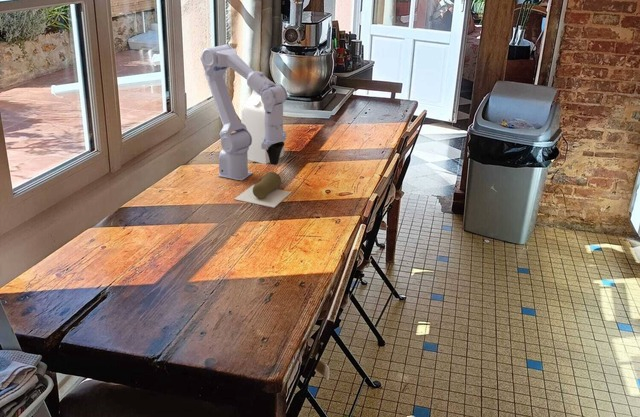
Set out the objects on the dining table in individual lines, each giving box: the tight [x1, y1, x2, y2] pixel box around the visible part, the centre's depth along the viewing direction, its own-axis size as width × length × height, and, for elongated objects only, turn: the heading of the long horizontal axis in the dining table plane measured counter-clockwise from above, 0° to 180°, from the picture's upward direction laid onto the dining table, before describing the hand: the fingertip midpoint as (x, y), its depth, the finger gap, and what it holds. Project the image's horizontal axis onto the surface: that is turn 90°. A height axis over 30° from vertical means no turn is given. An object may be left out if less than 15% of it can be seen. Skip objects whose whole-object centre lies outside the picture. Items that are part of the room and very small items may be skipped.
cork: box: [253, 171, 282, 199], centre depth 199 cm, size 6×6×11 cm
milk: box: [240, 89, 285, 165], centre depth 227 cm, size 12×12×26 cm
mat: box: [233, 184, 292, 209], centre depth 199 cm, size 14×13×1 cm
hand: (274, 163), depth 202 cm, fingers closed
